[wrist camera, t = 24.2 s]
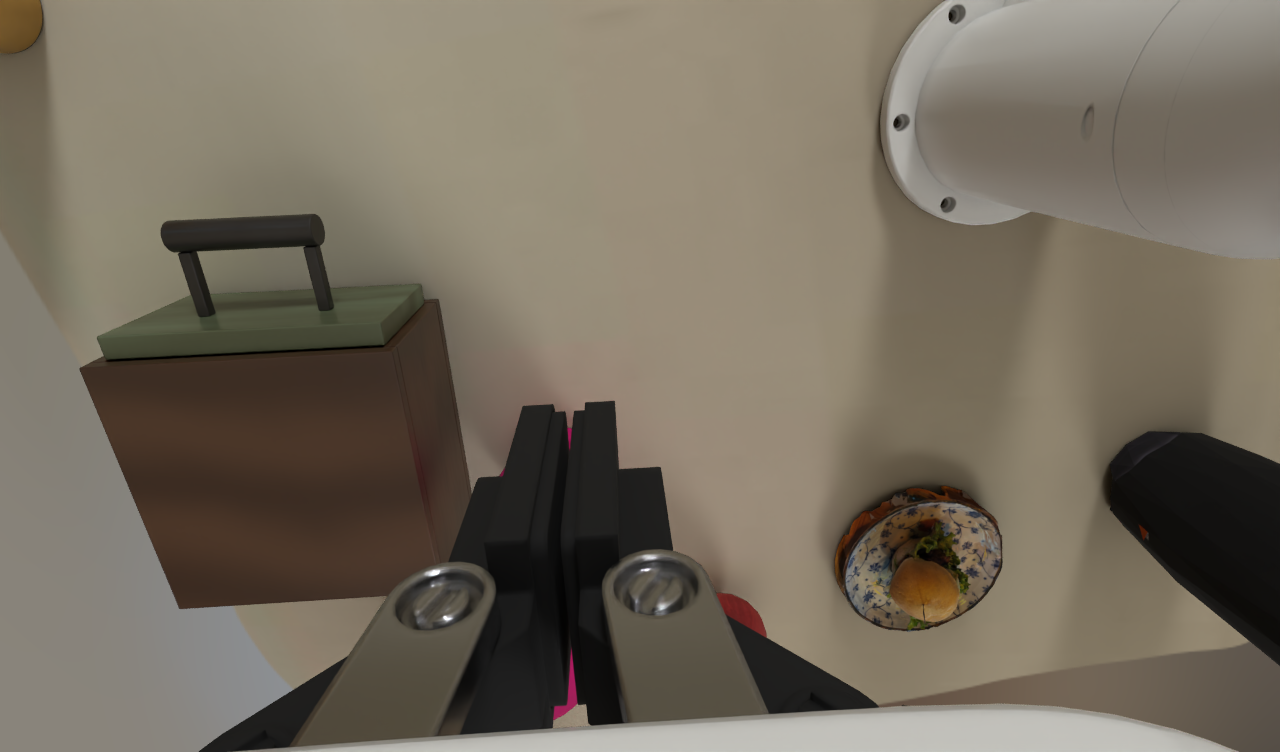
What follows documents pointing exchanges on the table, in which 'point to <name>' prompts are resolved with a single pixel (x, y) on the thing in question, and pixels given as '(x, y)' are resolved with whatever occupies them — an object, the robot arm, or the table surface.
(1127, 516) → the portable speaker
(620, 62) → the table surface
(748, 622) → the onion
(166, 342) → the drawer
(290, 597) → the cabinet
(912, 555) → the burger
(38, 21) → the tin
